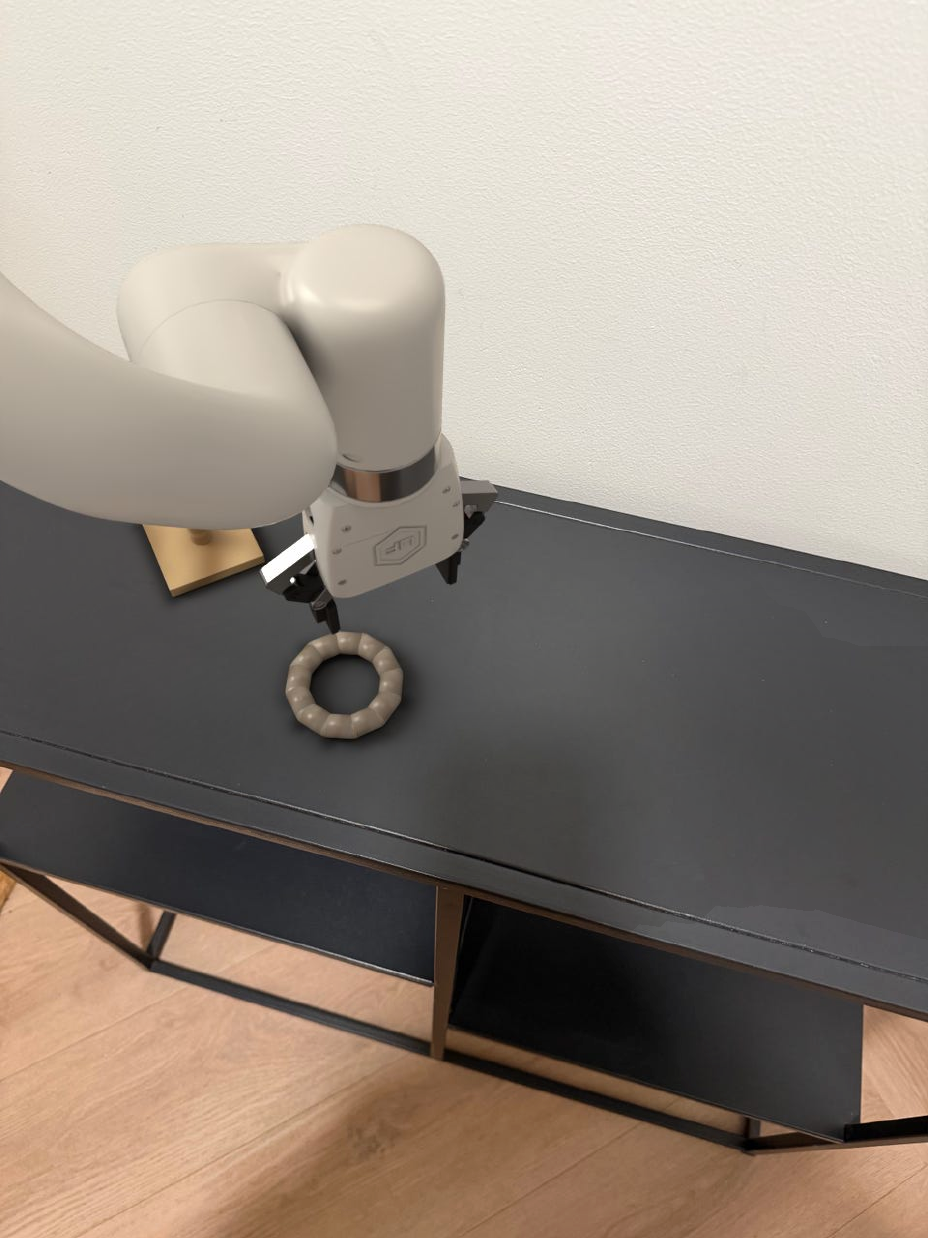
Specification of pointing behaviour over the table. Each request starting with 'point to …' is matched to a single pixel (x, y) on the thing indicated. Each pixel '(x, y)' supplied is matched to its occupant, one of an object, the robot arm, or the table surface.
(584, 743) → the table surface
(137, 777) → the table surface
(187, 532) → the post
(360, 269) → the robot arm
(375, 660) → the ring
